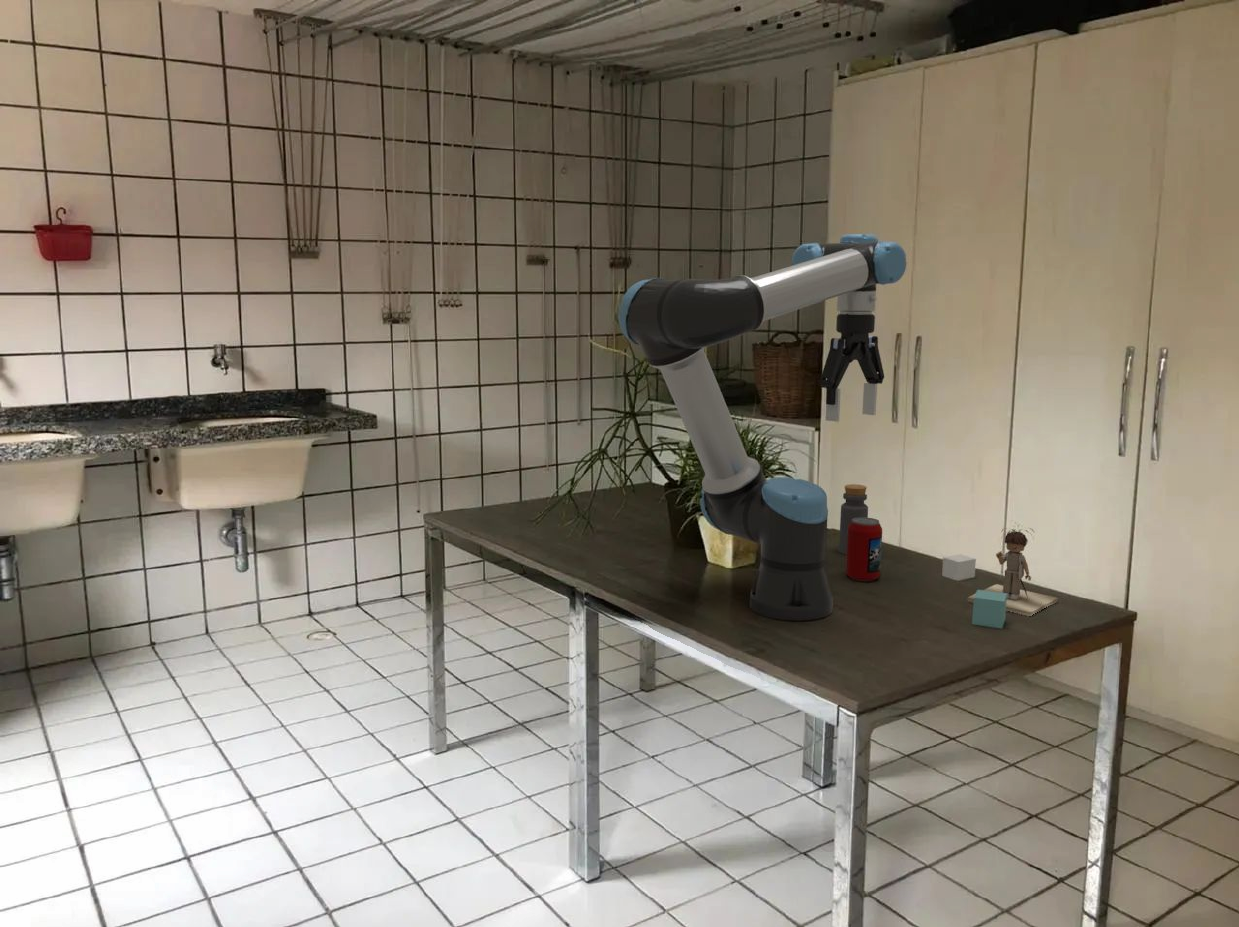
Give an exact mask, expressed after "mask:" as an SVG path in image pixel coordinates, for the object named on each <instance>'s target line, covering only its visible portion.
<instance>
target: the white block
mask: <svg viewBox="0 0 1239 927" xmlns="http://www.w3.org/2000/svg"><path fill="white" fill-rule="evenodd" d="M976 562H977V559H976V558H975V557H970V556H968V555H964V554H962V553H959V554H955V555H949V556H944V557H943V558H942V572H941V575H942V577H944V578H948V579H951V580H954V581H958V582H959V581H963V580H968V579H972V578H975V576H976V565H977V563H976Z"/></svg>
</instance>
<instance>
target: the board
mask: <svg viewBox="0 0 1239 927" xmlns="http://www.w3.org/2000/svg"><path fill="white" fill-rule="evenodd" d="M1003 585H1004V584H1003ZM1003 585H1002V584H998V583H996V584H995V583H994V585H993V584H992V586H988V587H987V588H985V589H983V590H984V591H991V592H999V593H1003V592H1002V590H1003ZM1026 592H1027V595H1026V593H1025V590H1024V589H1020V594H1019V598H1018V599H1017V600H1013V599H1010V598H1009V599H1008V598H1007V601H1006V612H1008V611H1010V613H1012V612H1014V613H1013V614H1017V613H1018V614H1017V615H1021V614H1022V615H1021V616H1025V615H1026V616H1025V617H1029V616H1031V617H1032V615H1033V614H1034V615H1036V614H1038V613H1040V612H1041V610H1042V609H1044V608H1046V607H1047V608H1049V607H1051V606H1053V605H1054V604H1056V603H1058V601H1059V600H1058V599H1059V598H1058V597H1054V596H1050V595H1046V594H1042V593H1037V592H1034V591H1028V590H1026ZM975 594H976V593H974V594H972V595H970V596H968V597H967V598H966V599H967V602H969V603H973V604H974V596H975ZM1027 596H1028V598H1027ZM1050 605H1051V606H1050ZM1048 606H1049V607H1048ZM1047 608H1046V609H1047ZM1044 610H1045V609H1044ZM1039 611H1040V612H1039ZM1042 611H1043V610H1042ZM1037 612H1038V613H1037ZM1035 613H1036V614H1035ZM1034 615H1033V616H1034Z"/></svg>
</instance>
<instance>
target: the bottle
mask: <svg viewBox="0 0 1239 927" xmlns="http://www.w3.org/2000/svg"><path fill="white" fill-rule="evenodd" d="M867 488H868V487H867V486H866V485H863V484H856V483H854V484H850V483H849V484H846V485H844V490H845V491H844V493H843V495H842V498H843V499H844V500H845V502H843V503H842V504H841V505H840V522H839V540H838V541H839V542H838V544H839V546H838V552H839V553H840V554H842V555H846V556H847V539H848V527H849V525H850V523H851V522H852V519H853V518H858V517H866V518H869V516H868V515H869V506H868V505H867V504H865V501H867V499H868V494H866V491H867Z"/></svg>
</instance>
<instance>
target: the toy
mask: <svg viewBox="0 0 1239 927" xmlns="http://www.w3.org/2000/svg"><path fill="white" fill-rule="evenodd" d="M1011 521H1013V520H1011ZM1011 521H1010V522H1011ZM1014 523H1015V525H1017V528H1020V526H1021V527H1022V529H1019V530H1016V527H1015V525H1014V526H1013V525H1012V526H1013V527H1015V528H1009V530H1008V531H1007V532H1005V533H1003V535H1002V536H1001V538H1003V536H1004V535H1005V537H1004V540H1003V541H1004V544H1005V547H1006V549H1007V550H1008V551H1007V552H1005V553H1004V554H1003V551H1002V550H1000V551H999V552H996V553H995V556H996V558H997V559H998V562H999V565H1000V566H1002V565H1004V564H1005V563H1006V569H1005V570H1004V581H1003V590H1002V592H1003V593H1006V594H1007V598H1008V599H1009V598H1010V599H1013V600H1017V599H1018V598H1019V594H1020V590H1021V586H1022V587H1023V590H1025V593H1026V595H1027V592H1026V591H1027V590H1026V587H1025V584H1024V582H1023V578H1025V580H1028V581H1029V582H1030V581H1032V576H1031V575H1030V569H1029V566H1028V562H1027V559H1026V557H1025V555H1023V552H1024V550H1025V548H1026V546H1027V545H1028V543H1029V540H1028V538H1027V537H1026V535H1025V534H1024V533H1023V532H1021V531H1026V533H1030V535H1031V536H1033V535H1032V533H1031V532H1029V531H1028V530H1027V529H1024V528H1023V525H1021V524H1020V523H1019V524H1017V522H1016V521H1015V522H1014ZM1006 529H1008V528H1006V527H1005V528H1002V530H1001V533H1002V532H1003V531H1004V530H1006ZM1029 529H1030V530H1031V531H1032V532H1033V533H1035V531H1034V529H1033V528H1030V527H1029ZM1035 534H1036V533H1035ZM1032 538H1033V540H1034V539H1035V538H1034V537H1032ZM1027 598H1028V596H1027Z"/></svg>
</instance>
